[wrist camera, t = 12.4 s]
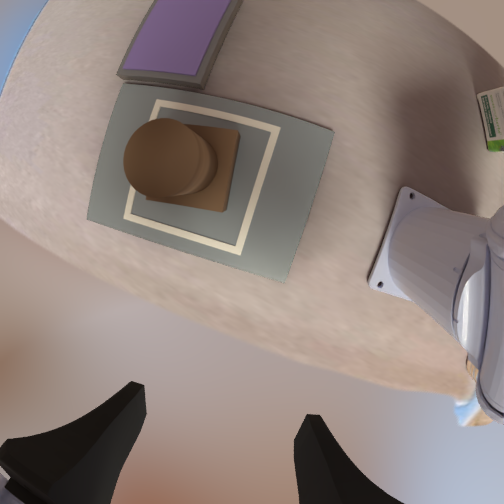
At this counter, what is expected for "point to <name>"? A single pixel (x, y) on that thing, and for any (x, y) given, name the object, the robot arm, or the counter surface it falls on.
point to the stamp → (182, 163)
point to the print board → (242, 188)
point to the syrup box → (493, 117)
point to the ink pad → (178, 41)
